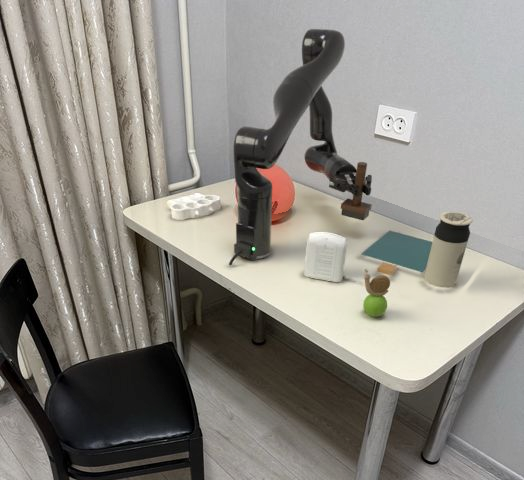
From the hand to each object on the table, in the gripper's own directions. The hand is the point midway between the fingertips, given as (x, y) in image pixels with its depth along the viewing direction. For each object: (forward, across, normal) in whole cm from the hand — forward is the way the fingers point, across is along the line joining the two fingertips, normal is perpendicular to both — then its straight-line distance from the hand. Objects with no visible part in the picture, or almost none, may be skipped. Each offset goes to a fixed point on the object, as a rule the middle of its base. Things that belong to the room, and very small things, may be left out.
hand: (363, 192), depth 137 cm
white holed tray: (-36, -43, +16) cm, 58 cm away
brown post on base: (-3, 0, +8) cm, 9 cm away
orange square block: (+19, 0, +16) cm, 24 cm away
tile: (+9, +11, +16) cm, 21 cm away
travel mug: (+27, +12, +16) cm, 33 cm away
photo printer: (+16, -17, +16) cm, 28 cm away
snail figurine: (+36, -12, +16) cm, 41 cm away
